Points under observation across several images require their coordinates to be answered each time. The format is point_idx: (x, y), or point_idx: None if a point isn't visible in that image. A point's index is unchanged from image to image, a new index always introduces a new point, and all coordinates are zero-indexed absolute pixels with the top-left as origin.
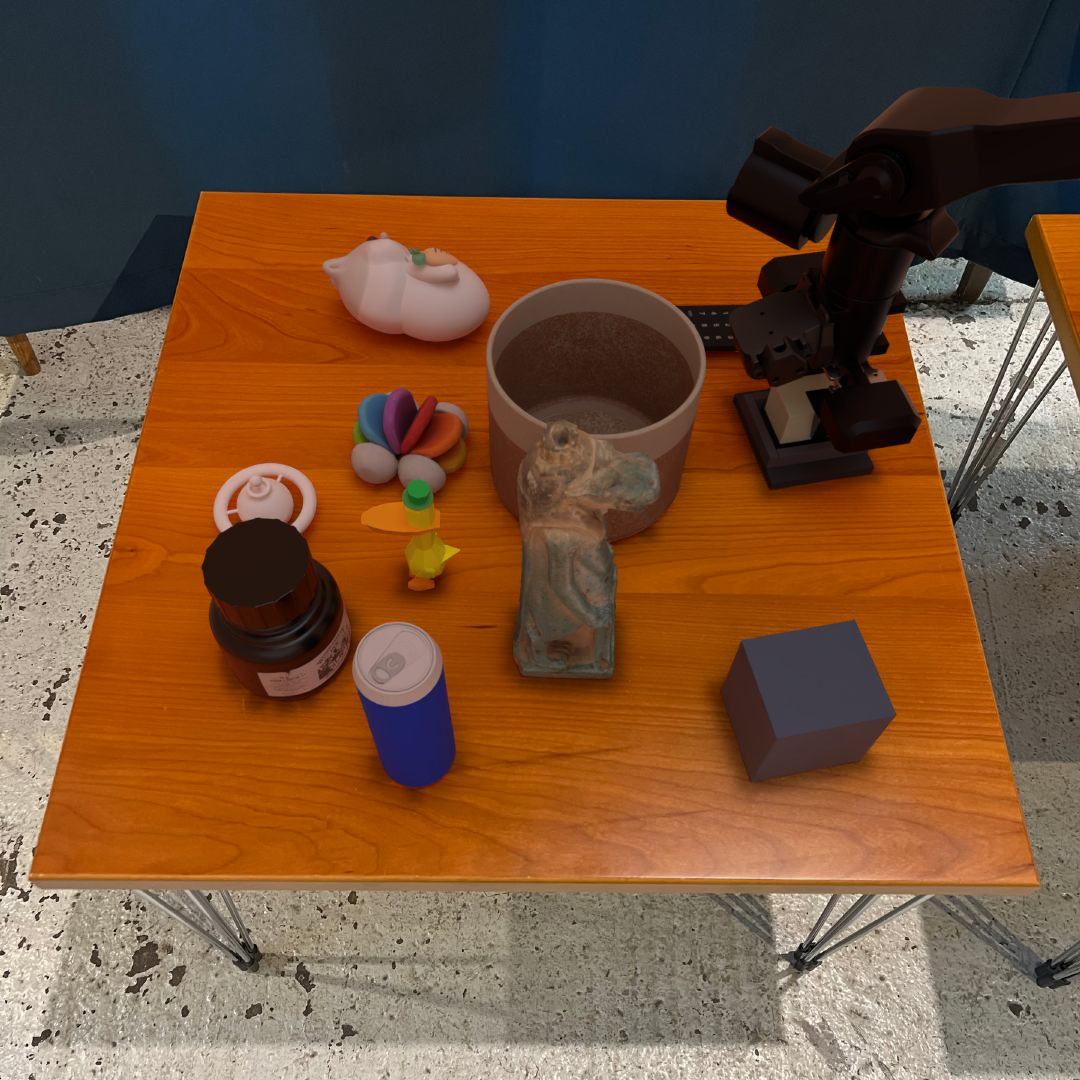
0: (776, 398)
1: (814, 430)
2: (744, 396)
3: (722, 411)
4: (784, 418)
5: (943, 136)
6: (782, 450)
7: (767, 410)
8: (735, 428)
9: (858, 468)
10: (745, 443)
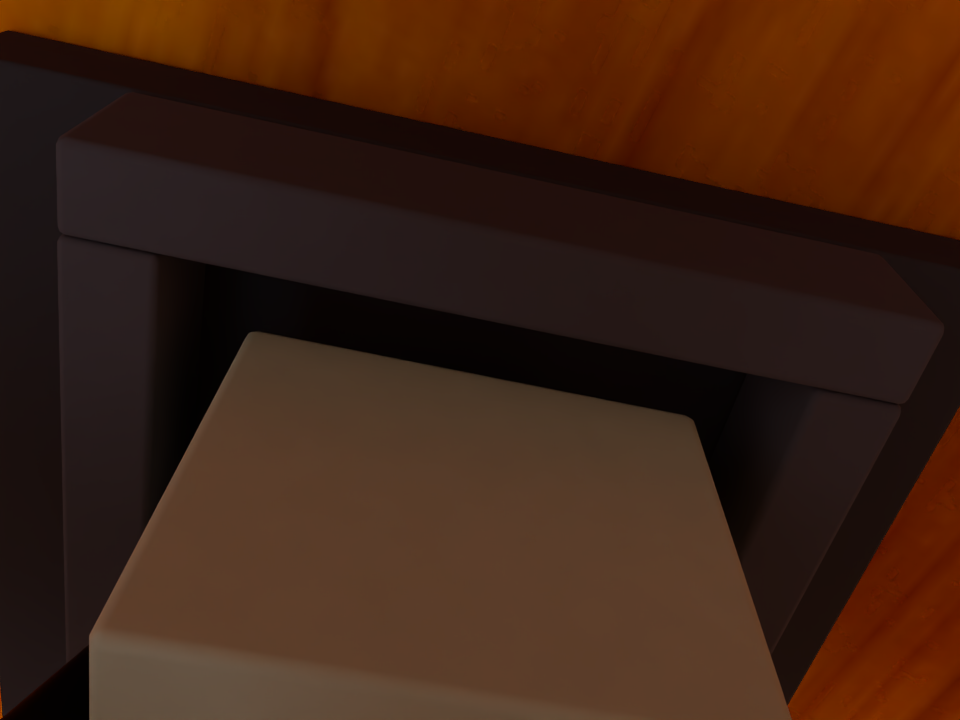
0: (566, 617)
1: (60, 686)
2: (920, 327)
3: (948, 110)
4: (247, 540)
5: None
6: (127, 304)
7: (638, 427)
8: (727, 116)
9: (7, 657)
10: (545, 110)
